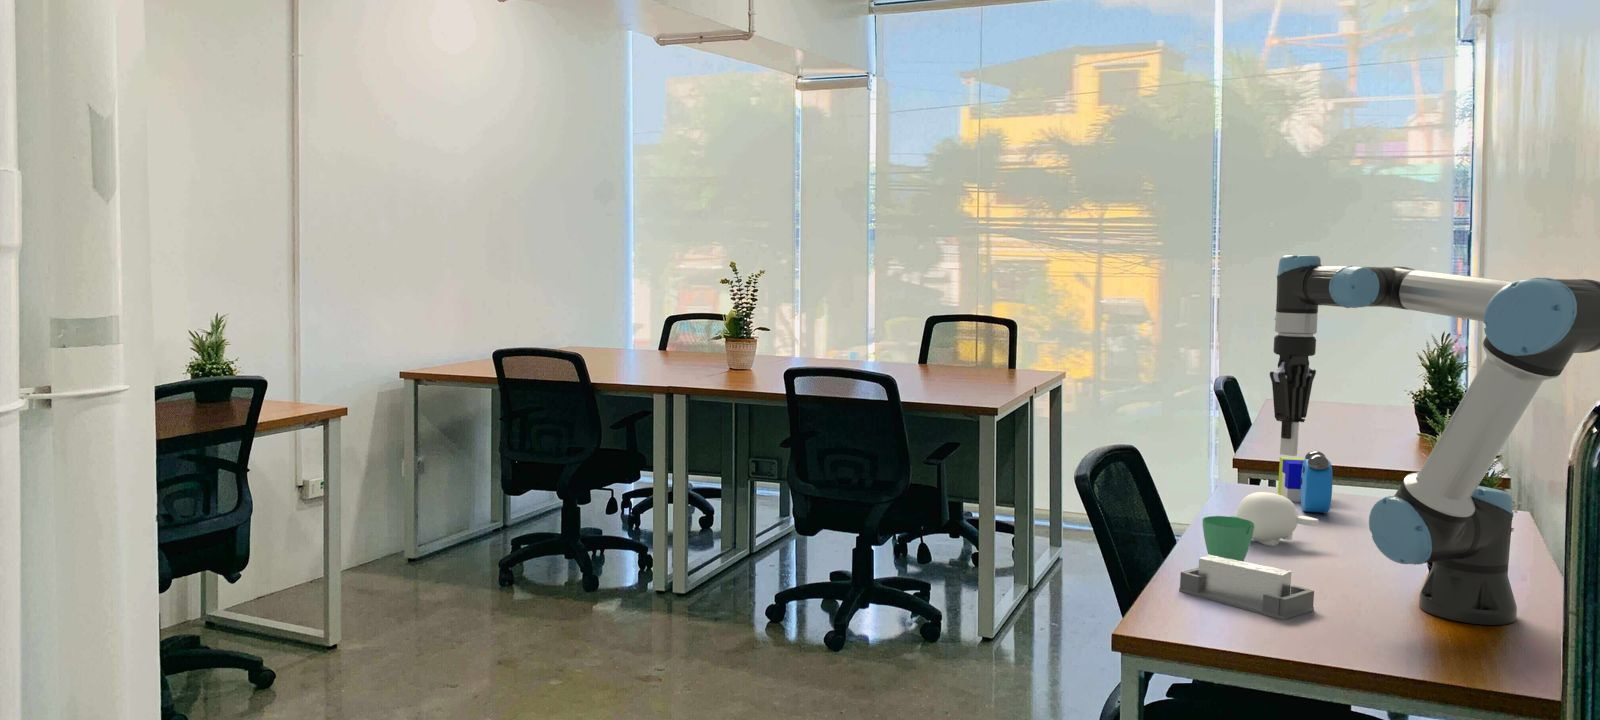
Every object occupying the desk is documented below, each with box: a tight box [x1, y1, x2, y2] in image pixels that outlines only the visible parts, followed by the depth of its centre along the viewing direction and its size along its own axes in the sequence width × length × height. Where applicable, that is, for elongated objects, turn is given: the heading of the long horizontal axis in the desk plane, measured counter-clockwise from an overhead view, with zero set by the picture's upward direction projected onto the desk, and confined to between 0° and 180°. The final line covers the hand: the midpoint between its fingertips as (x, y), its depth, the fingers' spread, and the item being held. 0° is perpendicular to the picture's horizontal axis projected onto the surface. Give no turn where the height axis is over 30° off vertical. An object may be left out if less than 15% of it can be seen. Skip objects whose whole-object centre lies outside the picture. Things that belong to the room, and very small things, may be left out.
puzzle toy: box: [1277, 456, 1305, 503], centre depth 306 cm, size 10×10×10 cm
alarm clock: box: [1300, 450, 1333, 516], centre depth 289 cm, size 13×6×15 cm, turn 162°
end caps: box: [1178, 567, 1315, 621], centre depth 212 cm, size 21×10×4 cm, turn 37°
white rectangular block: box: [1198, 554, 1292, 604], centre depth 213 cm, size 16×4×6 cm, turn 46°
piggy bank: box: [1236, 491, 1319, 546], centre depth 257 cm, size 12×12×15 cm
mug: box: [1202, 515, 1254, 562], centre depth 235 cm, size 15×10×10 cm
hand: (1288, 454), depth 227 cm, fingers closed
